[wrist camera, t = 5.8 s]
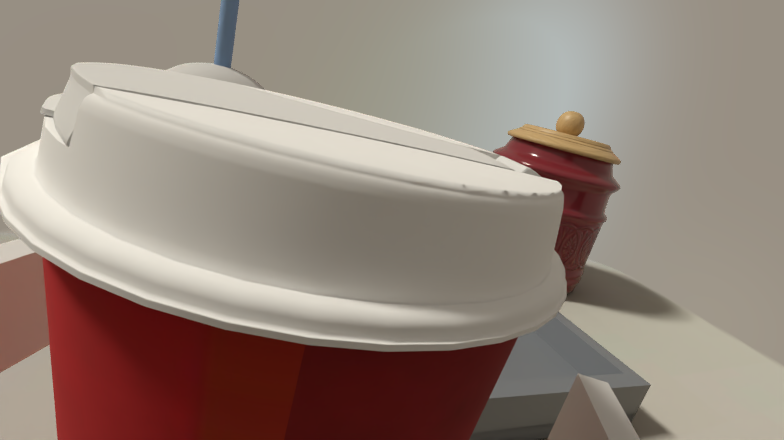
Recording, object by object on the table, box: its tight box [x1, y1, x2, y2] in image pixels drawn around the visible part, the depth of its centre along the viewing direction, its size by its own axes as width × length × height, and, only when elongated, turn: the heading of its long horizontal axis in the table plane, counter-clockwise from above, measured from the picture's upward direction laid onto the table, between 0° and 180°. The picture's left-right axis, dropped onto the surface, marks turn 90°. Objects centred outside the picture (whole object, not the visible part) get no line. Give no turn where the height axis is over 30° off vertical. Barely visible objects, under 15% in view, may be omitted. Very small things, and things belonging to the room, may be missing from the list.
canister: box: [493, 111, 621, 294], centre depth 43 cm, size 13×13×18 cm
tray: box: [469, 312, 651, 440], centre depth 26 cm, size 14×14×3 cm
